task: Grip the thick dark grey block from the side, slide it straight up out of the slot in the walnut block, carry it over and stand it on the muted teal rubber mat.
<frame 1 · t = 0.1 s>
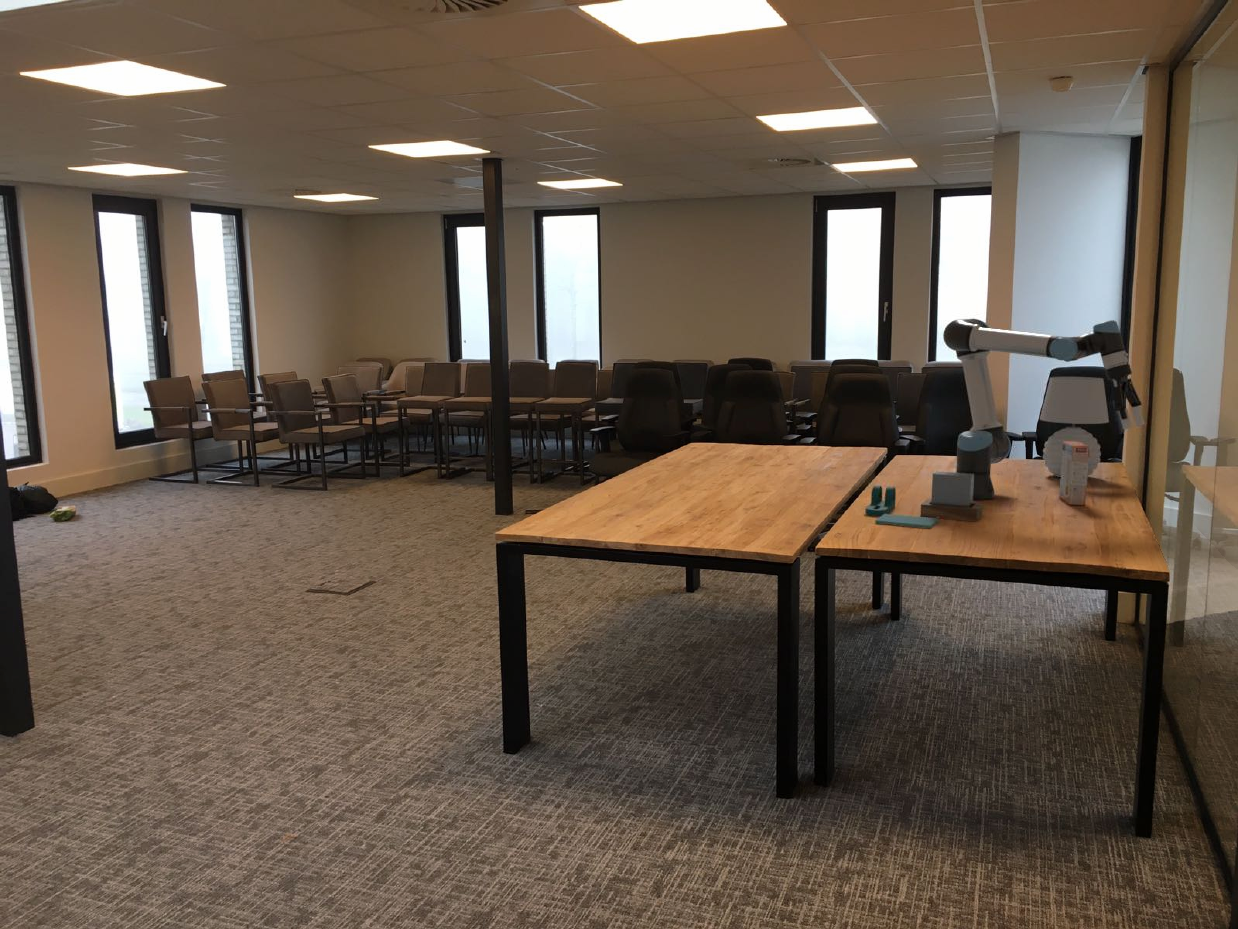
hand: (1134, 427, 334), 28 cm above the table, tool tilted 20°, fingers open, 13 cm apart
bracket: (879, 512, 335), on the table
slotted block: (951, 515, 327), on the table
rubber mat: (906, 522, 316), on the table
cracker box: (1072, 502, 350), on the table
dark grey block: (951, 516, 327), resting in slotted block
table lamp: (1070, 477, 403), on the table
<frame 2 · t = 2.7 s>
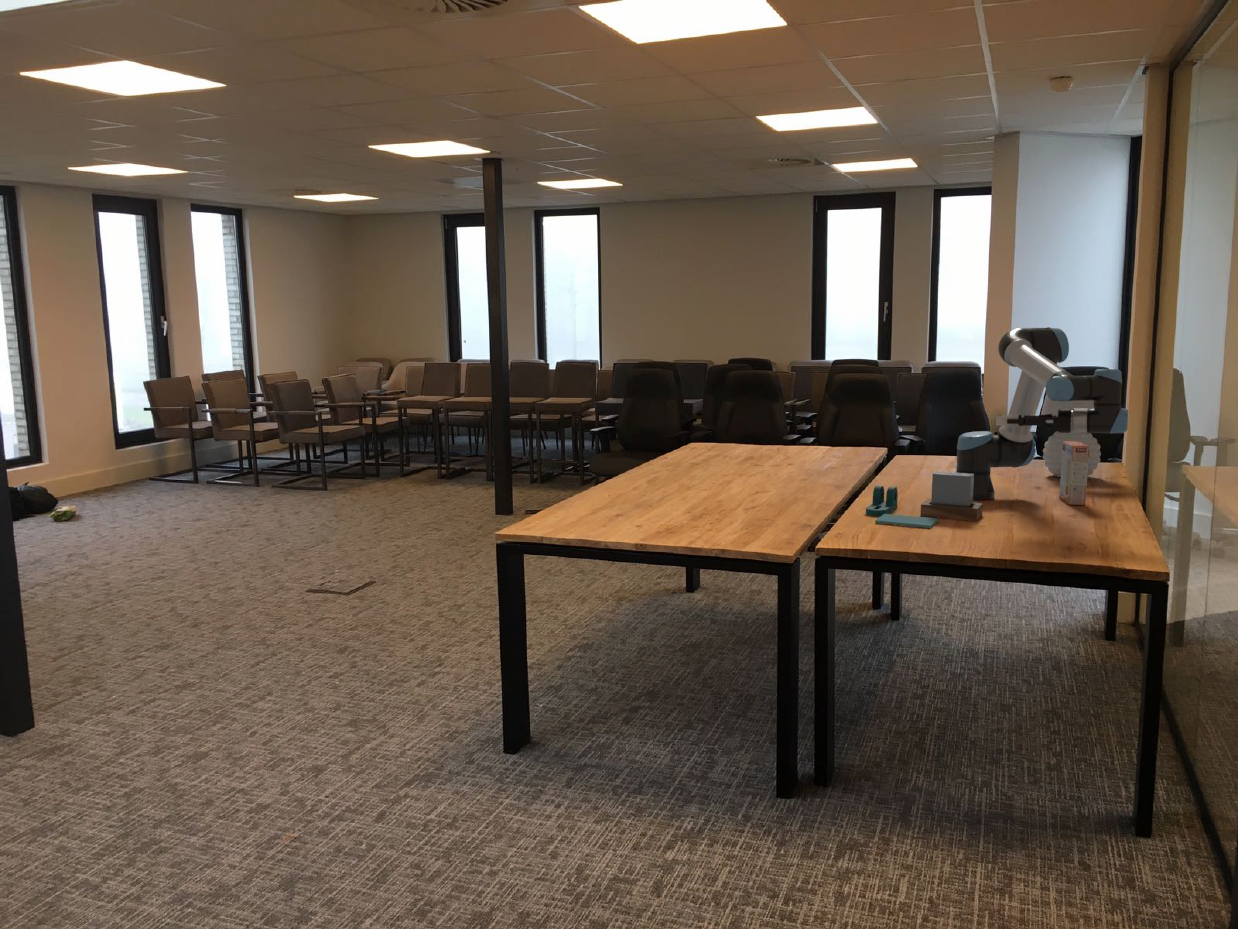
hand: (998, 420, 317), 32 cm above the table, tool horizontal, fingers open, 13 cm apart
nothing on the table moved.
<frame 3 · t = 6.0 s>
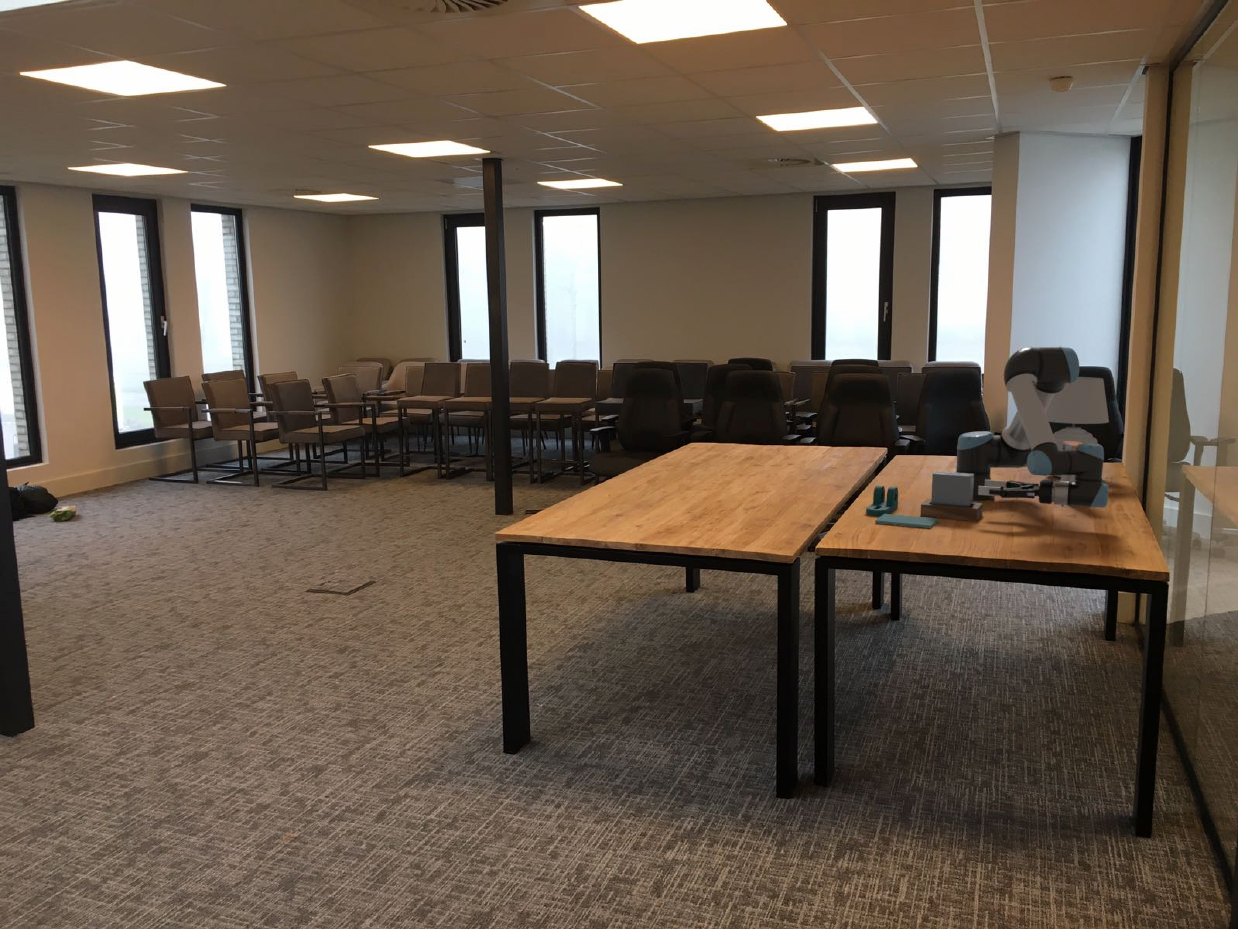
hand: (981, 486, 320), 10 cm above the table, tool horizontal, fingers open, 13 cm apart
nothing on the table moved.
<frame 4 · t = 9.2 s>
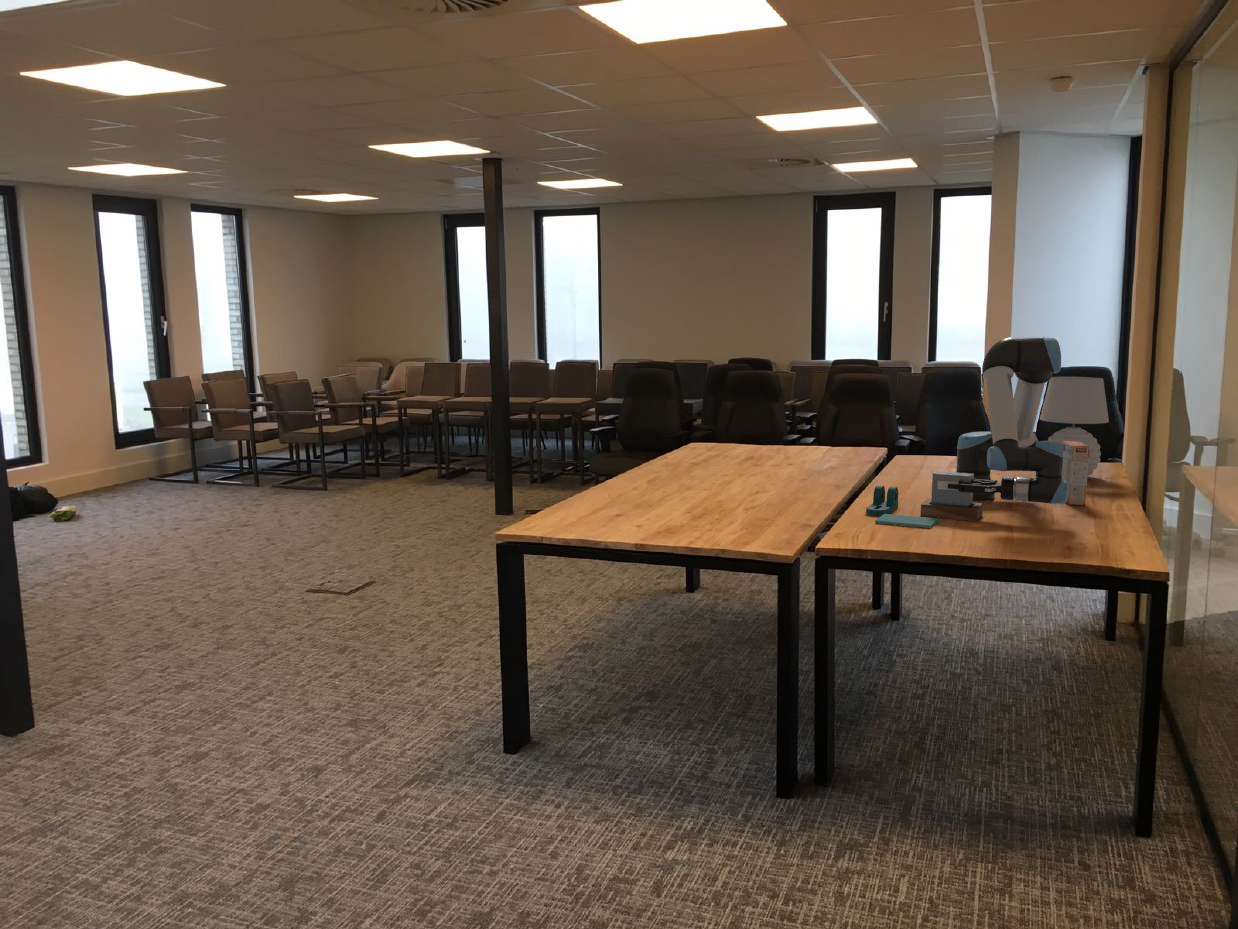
hand: (939, 483, 327), 11 cm above the table, tool horizontal, fingers closed on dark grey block, 6 cm apart
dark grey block: (951, 515, 327), resting in slotted block, touching gripper
everything else where it was.
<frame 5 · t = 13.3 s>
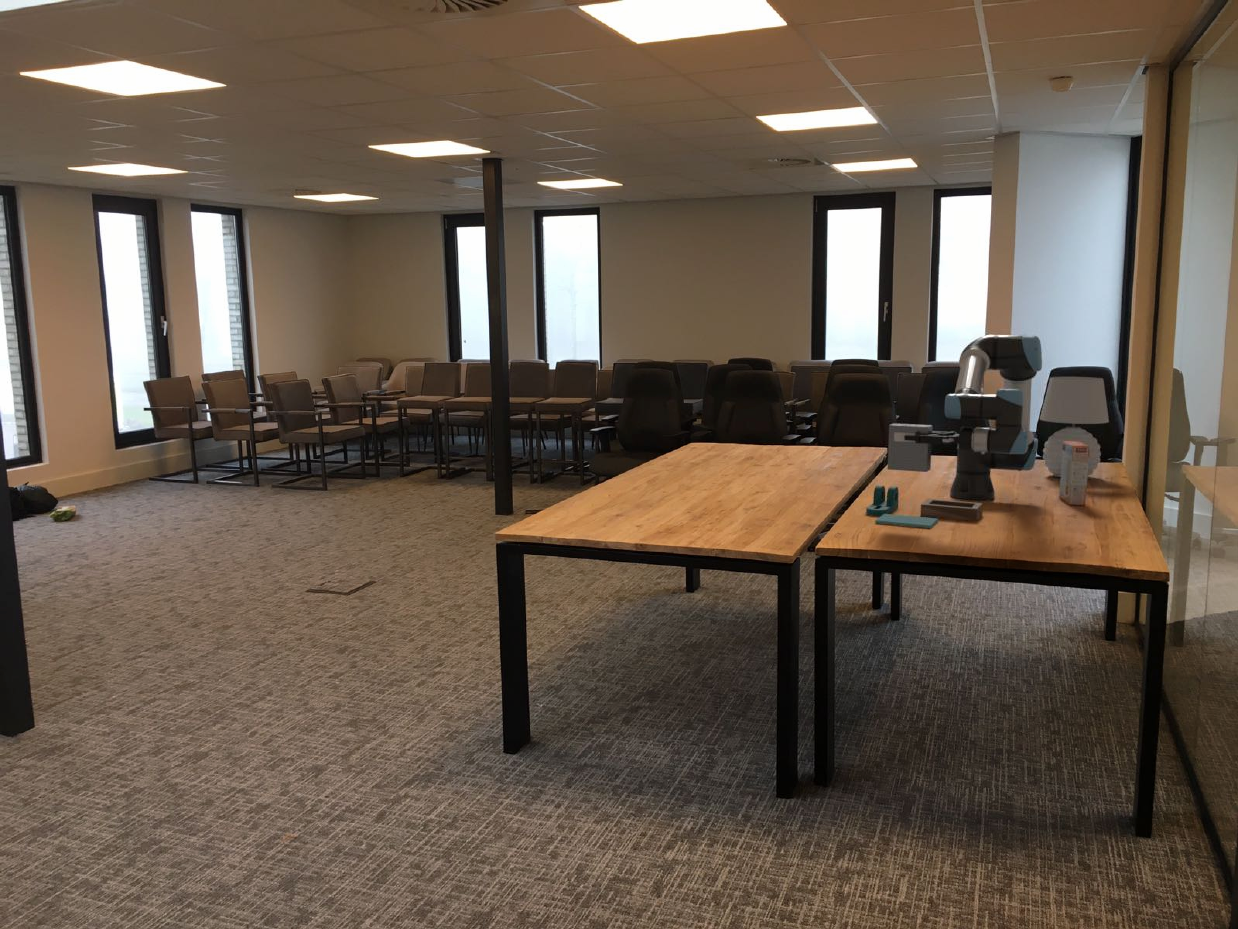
hand: (897, 435, 314), 28 cm above the table, tool horizontal, fingers closed on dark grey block, 6 cm apart
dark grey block: (909, 469, 314), point 17 cm above the table, touching gripper
everything else where it was.
when the fingers open (12 cm above the table, at t = 17.5 s): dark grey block stays where it is, resting on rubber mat.
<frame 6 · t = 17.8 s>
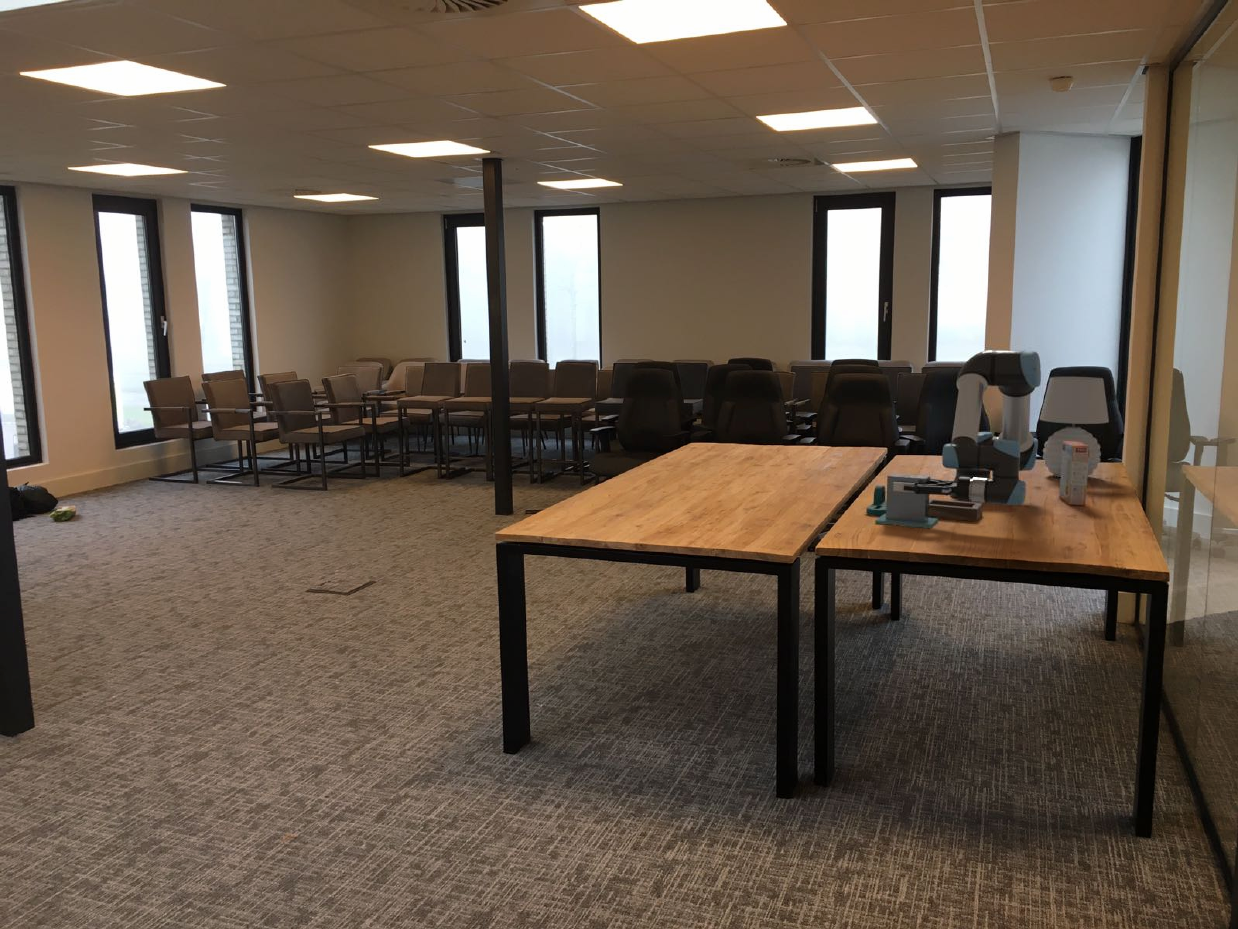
hand: (897, 483, 316), 12 cm above the table, tool horizontal, fingers open, 9 cm apart
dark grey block: (907, 519, 316), point 1 cm above the table, touching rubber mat
everything else where it was.
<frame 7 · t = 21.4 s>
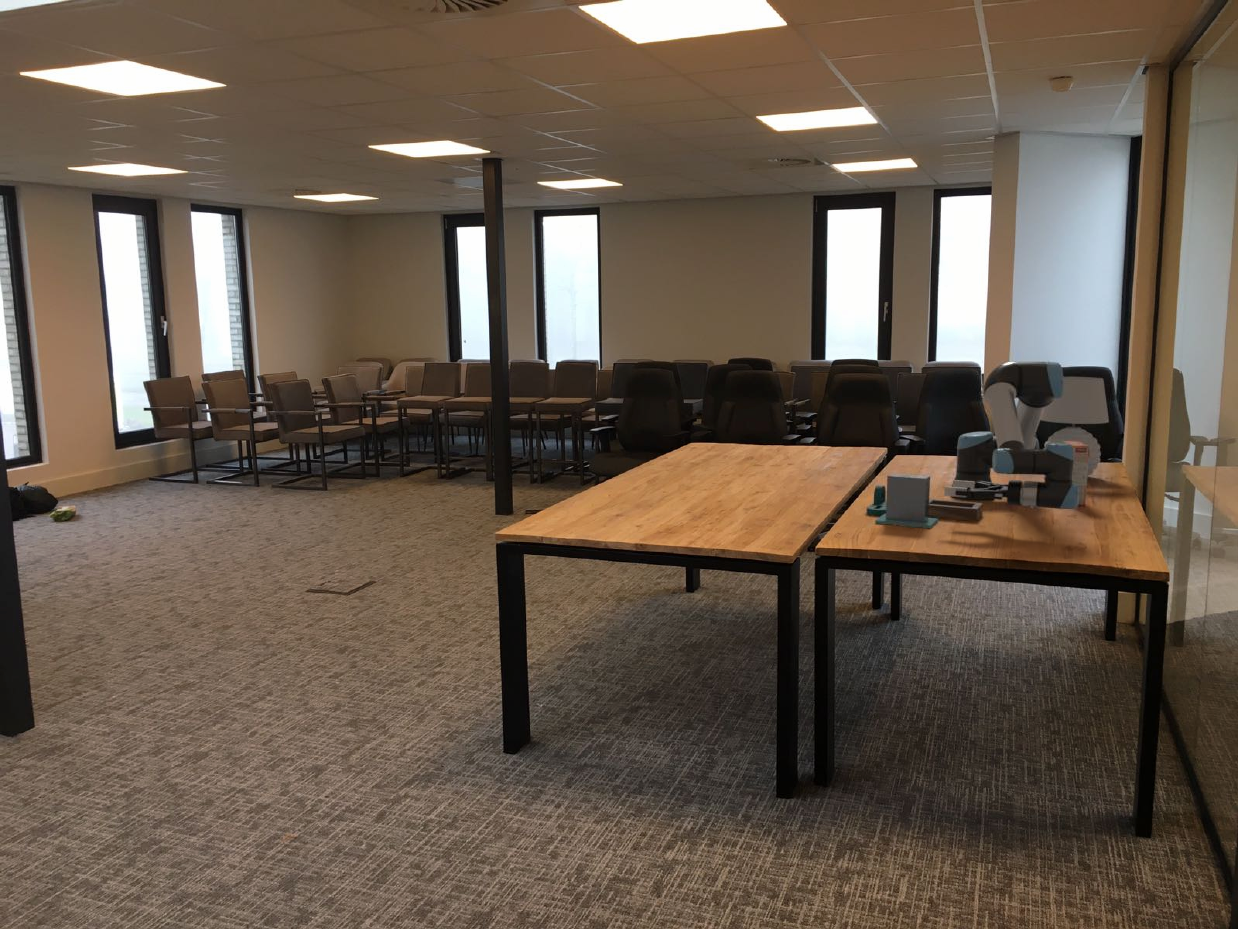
hand: (948, 487, 309), 12 cm above the table, tool horizontal, fingers open, 13 cm apart
nothing on the table moved.
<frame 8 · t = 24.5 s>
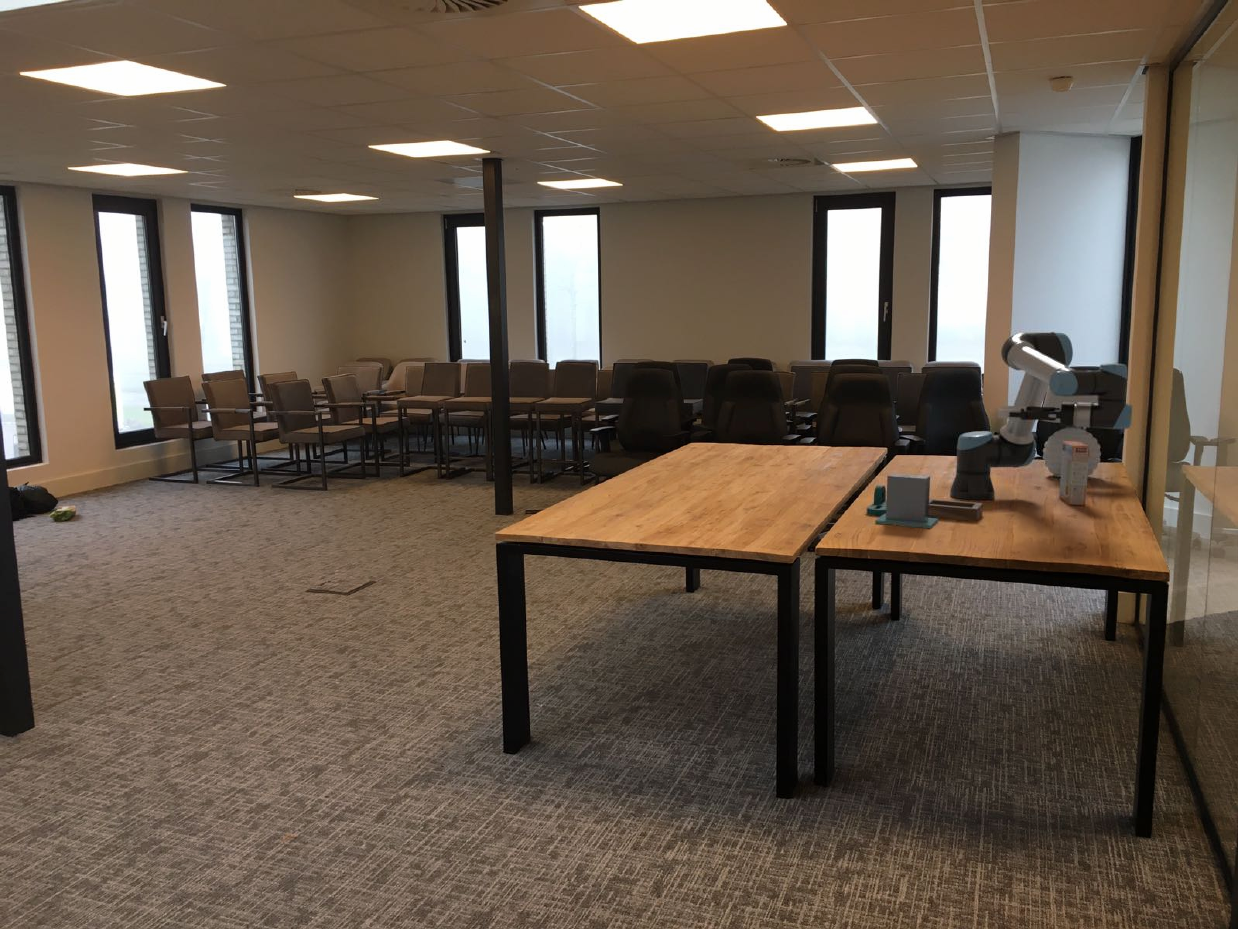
hand: (1001, 411, 313), 35 cm above the table, tool horizontal, fingers open, 13 cm apart
nothing on the table moved.
at the end: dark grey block inside the target area on the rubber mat (0.1 cm from its centre), point 1.0 cm above the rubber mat's base; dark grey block tilted 0°; the gripper is holding nothing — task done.
